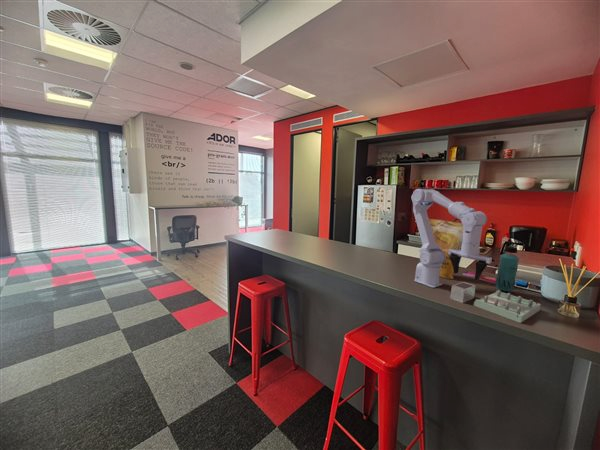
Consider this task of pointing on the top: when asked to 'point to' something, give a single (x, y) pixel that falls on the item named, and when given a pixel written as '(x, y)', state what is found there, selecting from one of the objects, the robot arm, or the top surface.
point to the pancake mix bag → (447, 242)
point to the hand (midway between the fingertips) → (465, 276)
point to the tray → (508, 306)
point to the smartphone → (481, 277)
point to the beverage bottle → (507, 270)
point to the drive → (462, 292)
